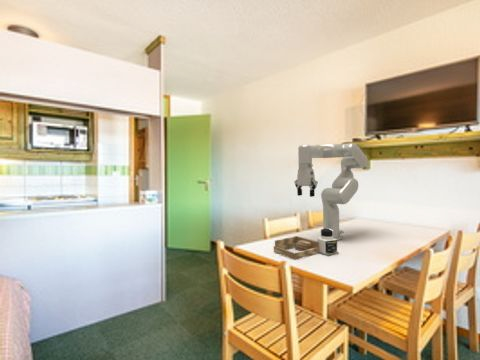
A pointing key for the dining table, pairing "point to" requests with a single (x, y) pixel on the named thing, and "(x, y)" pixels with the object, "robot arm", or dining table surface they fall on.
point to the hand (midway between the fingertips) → (305, 195)
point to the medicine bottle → (327, 242)
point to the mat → (328, 254)
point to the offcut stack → (303, 245)
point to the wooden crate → (290, 243)
